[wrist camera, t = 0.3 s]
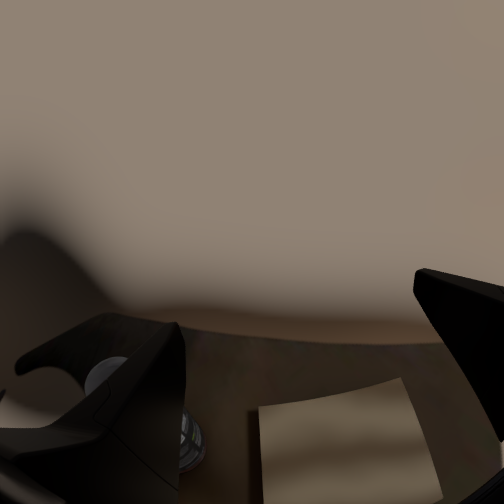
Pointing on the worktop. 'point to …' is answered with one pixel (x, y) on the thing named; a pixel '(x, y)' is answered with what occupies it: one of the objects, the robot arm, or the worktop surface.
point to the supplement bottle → (191, 431)
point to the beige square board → (347, 450)
